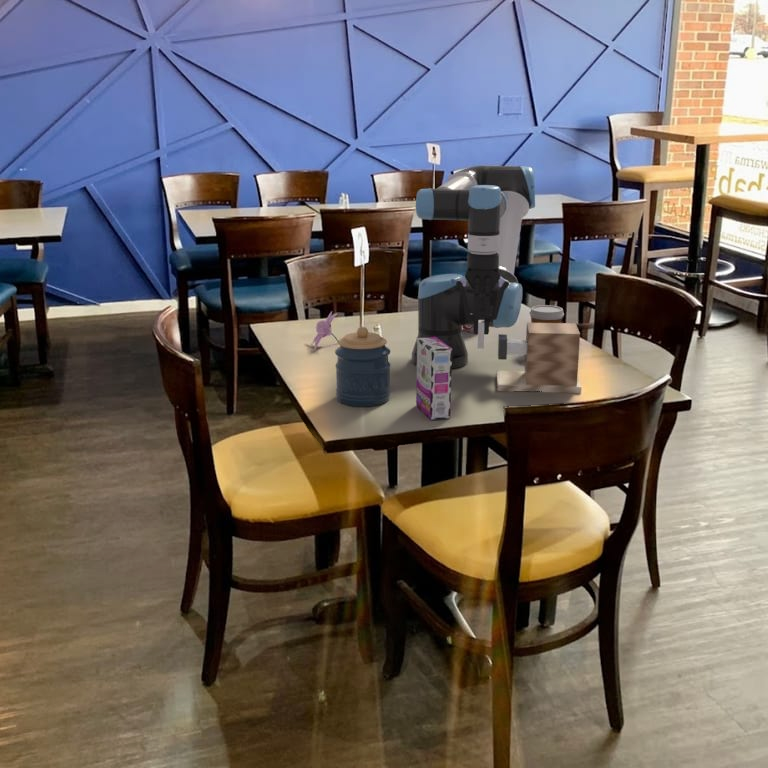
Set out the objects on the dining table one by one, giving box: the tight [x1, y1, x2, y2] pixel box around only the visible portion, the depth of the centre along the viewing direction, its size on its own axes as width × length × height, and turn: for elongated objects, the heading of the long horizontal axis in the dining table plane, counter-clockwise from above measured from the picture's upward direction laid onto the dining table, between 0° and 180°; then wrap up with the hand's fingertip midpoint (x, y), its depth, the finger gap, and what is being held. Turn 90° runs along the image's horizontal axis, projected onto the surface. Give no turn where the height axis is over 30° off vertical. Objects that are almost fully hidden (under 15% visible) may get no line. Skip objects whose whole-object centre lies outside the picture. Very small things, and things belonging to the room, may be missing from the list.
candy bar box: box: [415, 337, 453, 421], centre depth 207 cm, size 11×5×16 cm, turn 16°
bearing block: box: [496, 322, 582, 394], centre depth 226 cm, size 20×12×14 cm, turn 85°
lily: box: [311, 311, 339, 350], centre depth 263 cm, size 12×12×10 cm
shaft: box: [497, 333, 528, 361], centre depth 225 cm, size 16×5×5 cm, turn 85°
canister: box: [334, 326, 392, 408], centre depth 216 cm, size 13×13×18 cm
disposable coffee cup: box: [528, 304, 565, 323], centre depth 255 cm, size 10×10×12 cm
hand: (480, 346), depth 226 cm, fingers closed
